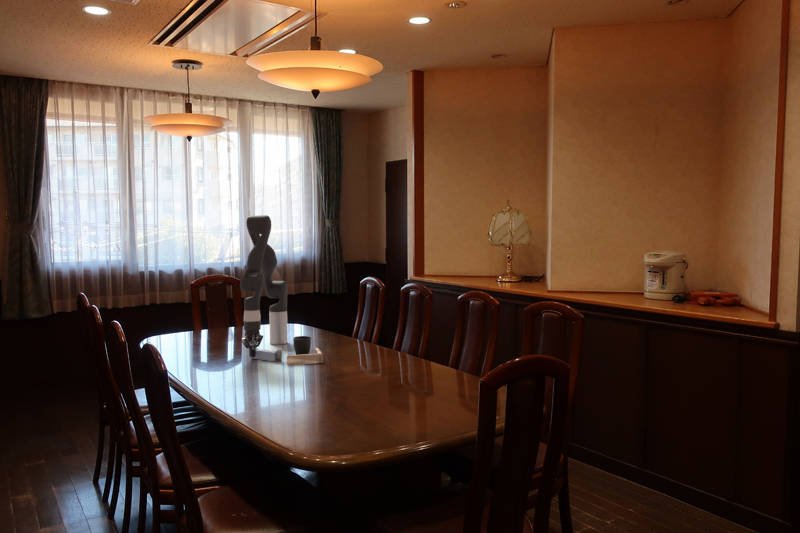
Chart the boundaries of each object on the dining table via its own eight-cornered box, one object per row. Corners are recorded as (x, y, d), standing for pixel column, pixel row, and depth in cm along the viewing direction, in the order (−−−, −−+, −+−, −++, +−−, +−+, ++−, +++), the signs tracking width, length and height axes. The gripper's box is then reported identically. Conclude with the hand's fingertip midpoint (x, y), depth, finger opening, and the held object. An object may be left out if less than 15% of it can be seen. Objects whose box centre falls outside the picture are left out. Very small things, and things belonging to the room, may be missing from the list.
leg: (278, 359, 277) (278, 350, 276) (274, 361, 274) (274, 352, 273) (255, 357, 283) (255, 348, 283) (250, 358, 280) (250, 349, 280)
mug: (306, 353, 292) (305, 334, 292) (313, 358, 281) (313, 338, 281) (289, 354, 289) (289, 335, 288) (296, 359, 278) (295, 339, 277)
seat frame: (284, 357, 282) (284, 349, 282) (318, 355, 286) (318, 347, 286) (287, 364, 268) (287, 356, 268) (322, 362, 272) (322, 353, 272)
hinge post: (276, 361, 275) (276, 350, 275) (281, 360, 276) (281, 349, 276) (276, 362, 273) (276, 351, 273) (282, 362, 274) (281, 350, 273)
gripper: (255, 317, 284) (256, 353, 284) (235, 320, 272) (236, 358, 273) (268, 318, 280) (268, 355, 281) (248, 321, 269) (248, 360, 269)
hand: (252, 356), depth 277 cm, fingers closed
